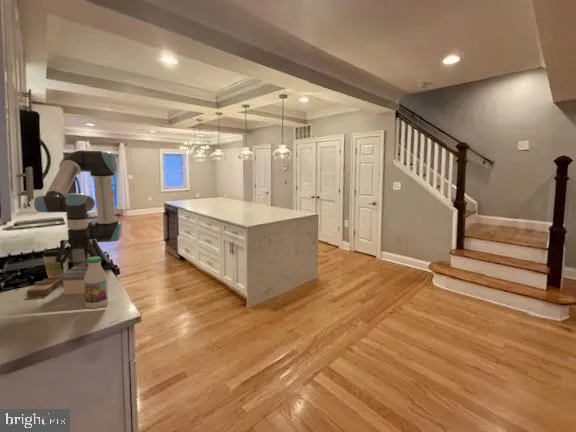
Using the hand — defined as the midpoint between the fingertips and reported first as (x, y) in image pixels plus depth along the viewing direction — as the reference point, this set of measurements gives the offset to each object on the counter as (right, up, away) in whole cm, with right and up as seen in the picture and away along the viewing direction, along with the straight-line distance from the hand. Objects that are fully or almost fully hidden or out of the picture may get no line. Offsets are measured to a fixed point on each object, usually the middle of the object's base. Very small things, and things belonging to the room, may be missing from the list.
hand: (81, 275), depth 137 cm
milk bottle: (+17, -9, -15) cm, 24 cm away
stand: (-14, -6, -3) cm, 15 cm away
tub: (0, -6, +1) cm, 6 cm away
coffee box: (-14, -3, +22) cm, 26 cm away
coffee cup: (-20, -4, +11) cm, 23 cm away
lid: (0, +1, 0) cm, 1 cm away
